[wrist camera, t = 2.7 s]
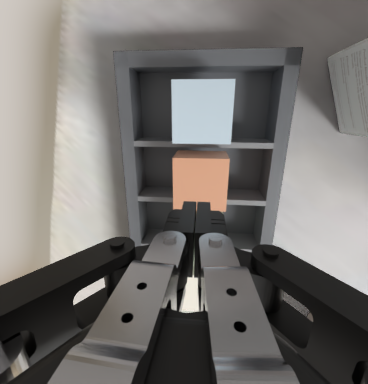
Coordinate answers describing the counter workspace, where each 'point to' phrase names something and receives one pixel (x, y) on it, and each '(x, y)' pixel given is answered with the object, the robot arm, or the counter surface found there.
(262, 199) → the grey compartment tray
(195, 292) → the cream cube
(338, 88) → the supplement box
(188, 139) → the pale blue cube
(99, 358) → the robot arm
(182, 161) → the orange cube
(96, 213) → the counter surface
